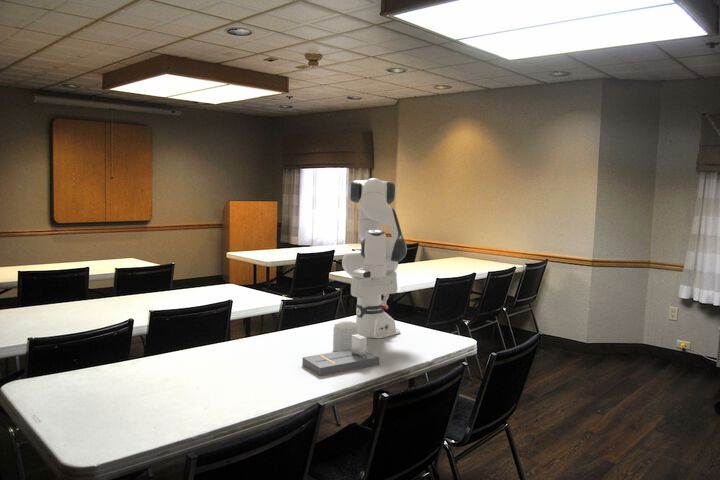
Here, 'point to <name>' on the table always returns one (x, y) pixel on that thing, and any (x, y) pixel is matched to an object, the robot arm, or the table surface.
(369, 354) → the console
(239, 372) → the table surface
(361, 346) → the fader
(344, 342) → the photo printer
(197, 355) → the table surface
